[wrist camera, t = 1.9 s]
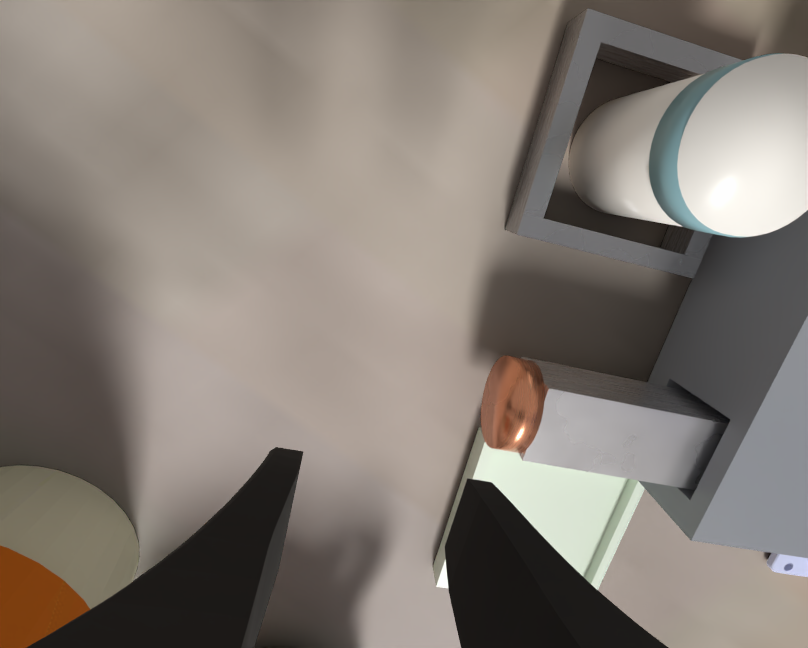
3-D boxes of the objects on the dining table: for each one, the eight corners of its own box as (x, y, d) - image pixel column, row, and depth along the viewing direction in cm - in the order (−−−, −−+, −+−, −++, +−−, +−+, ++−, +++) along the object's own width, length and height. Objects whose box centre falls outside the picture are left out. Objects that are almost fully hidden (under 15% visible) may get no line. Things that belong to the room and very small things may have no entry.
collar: (747, 81, 18) (782, 73, 17) (668, 270, 20) (693, 278, 19) (568, 22, 17) (587, 8, 15) (504, 229, 19) (517, 234, 18)
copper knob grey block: (689, 382, 21) (753, 424, 17) (657, 451, 22) (712, 504, 18) (499, 342, 19) (528, 379, 16) (474, 418, 20) (497, 468, 17)
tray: (639, 455, 23) (653, 470, 22) (580, 586, 26) (590, 605, 24) (479, 427, 22) (485, 441, 21) (432, 567, 24) (436, 586, 23)
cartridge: (695, 113, 18) (882, 80, 12) (650, 226, 20) (797, 255, 13) (591, 80, 18) (727, 27, 11) (551, 200, 19) (653, 216, 12)
